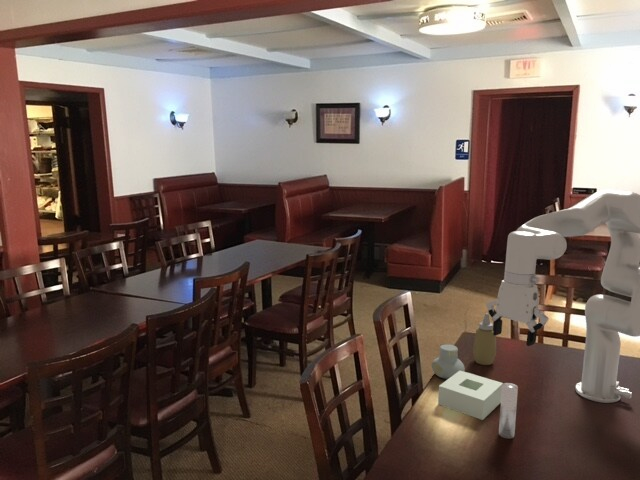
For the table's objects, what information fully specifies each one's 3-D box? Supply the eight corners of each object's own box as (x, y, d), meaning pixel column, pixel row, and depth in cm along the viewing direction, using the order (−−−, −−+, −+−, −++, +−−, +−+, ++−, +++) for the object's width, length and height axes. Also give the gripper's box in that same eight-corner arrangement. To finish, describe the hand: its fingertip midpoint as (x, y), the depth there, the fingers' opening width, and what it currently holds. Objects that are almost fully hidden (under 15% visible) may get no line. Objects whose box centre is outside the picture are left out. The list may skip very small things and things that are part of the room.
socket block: (501, 401, 164) (503, 383, 162) (482, 420, 153) (483, 400, 152) (458, 387, 172) (459, 370, 171) (438, 404, 162) (438, 385, 161)
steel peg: (516, 433, 146) (520, 385, 143) (511, 440, 143) (514, 391, 140) (502, 428, 149) (505, 381, 146) (496, 434, 146) (499, 386, 143)
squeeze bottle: (497, 367, 187) (500, 318, 184) (472, 366, 189) (475, 316, 185) (494, 358, 195) (497, 310, 191) (471, 356, 196) (474, 309, 193)
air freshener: (467, 380, 178) (469, 351, 176) (445, 384, 175) (447, 355, 173) (448, 367, 188) (450, 340, 186) (428, 370, 185) (429, 343, 183)
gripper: (557, 282, 139) (551, 345, 142) (497, 269, 152) (492, 328, 155) (544, 287, 134) (537, 352, 137) (482, 273, 147) (477, 333, 150)
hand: (513, 339), depth 146 cm, fingers open, 9 cm apart
